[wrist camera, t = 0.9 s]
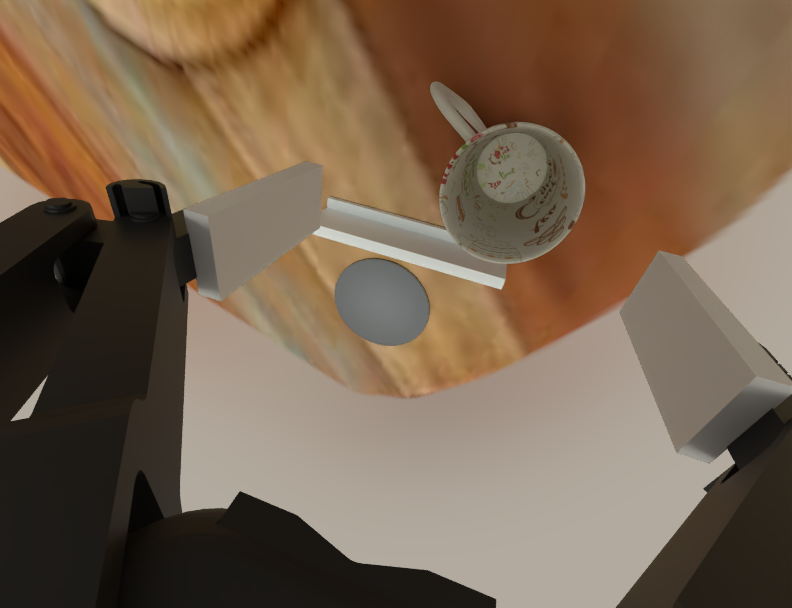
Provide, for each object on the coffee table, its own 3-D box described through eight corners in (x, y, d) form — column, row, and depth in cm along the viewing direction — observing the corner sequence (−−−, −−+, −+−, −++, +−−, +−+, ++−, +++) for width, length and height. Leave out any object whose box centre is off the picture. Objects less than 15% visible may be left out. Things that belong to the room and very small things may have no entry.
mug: (502, 236, 33) (496, 287, 24) (406, 129, 30) (364, 145, 22) (589, 170, 28) (618, 205, 20) (483, 38, 26) (466, 16, 18)
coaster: (340, 246, 38) (338, 247, 38) (440, 275, 36) (439, 277, 36) (332, 326, 44) (331, 328, 44) (418, 355, 42) (417, 357, 42)
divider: (330, 196, 35) (305, 210, 31) (511, 245, 33) (509, 268, 29) (328, 224, 37) (304, 242, 33) (500, 274, 34) (497, 299, 30)
